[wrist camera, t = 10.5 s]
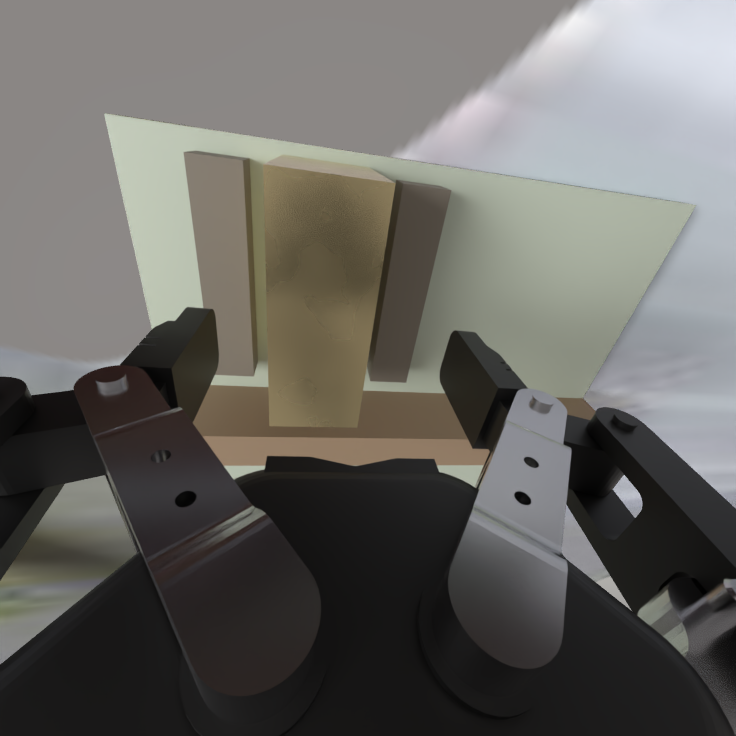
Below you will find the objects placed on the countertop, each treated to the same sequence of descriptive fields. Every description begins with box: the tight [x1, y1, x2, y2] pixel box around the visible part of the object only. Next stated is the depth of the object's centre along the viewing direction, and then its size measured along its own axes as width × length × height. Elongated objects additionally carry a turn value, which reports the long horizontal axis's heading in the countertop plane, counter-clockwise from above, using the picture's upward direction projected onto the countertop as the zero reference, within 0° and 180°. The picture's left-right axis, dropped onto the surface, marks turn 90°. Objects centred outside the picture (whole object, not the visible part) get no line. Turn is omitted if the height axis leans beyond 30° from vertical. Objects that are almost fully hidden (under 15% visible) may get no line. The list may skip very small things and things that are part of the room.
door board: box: [104, 114, 696, 487], centre depth 21 cm, size 26×26×5 cm
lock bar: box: [263, 155, 396, 428], centre depth 14 cm, size 9×4×6 cm, turn 172°
